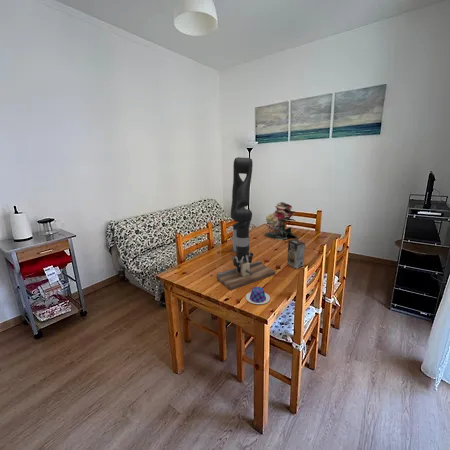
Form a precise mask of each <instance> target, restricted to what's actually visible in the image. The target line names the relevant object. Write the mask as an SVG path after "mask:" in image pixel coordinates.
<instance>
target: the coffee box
mask: <svg viewBox="0 0 450 450" xmlns="http://www.w3.org/2000/svg"><path fill="white" fill-rule="evenodd" d="M287 240H288V241H287V243H288V244H287V245H288V246H287V262H286V263H287V264H288V265H290V266H291V267H292V268H294V269H295V268H296V269H300V268H299V267H301V266H303V267H304V264H305V263H304V262H305V252H306V251H305V248H306V243H305V242H304V241H301V240H299V239H295V238H294V239H287ZM301 268H302V267H301Z"/></svg>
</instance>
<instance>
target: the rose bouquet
mask: <svg viewBox="0 0 450 450" xmlns="http://www.w3.org/2000/svg"><path fill="white" fill-rule="evenodd" d="M275 209H276V210H274V212H273V213H269V214H268V215H267V216H266V218H265V222H266V223H265V224H266V225H265V226H266V227H267V229H268V231H267V232H265V233H264V236H265V237H268V238H271V239H273V240H279V241H284V240H291V239H290V238H289V237H287V236H292V237H294V239H297V240H299V239H300V238H299V237H298V236H297V235H295V234H293V231H292V228H293V227H292V226H291V227H287V228H286V224H285V223H288V222H290V221H292V222H296V220H295V219H293V215H294V214H296V211H293V210H292V209H293V206H292V205H291V204H288V203H286V202H283V201H281V202H278V203H277V204H276V205H275ZM271 230H273V232H271ZM276 231H277V232H276Z"/></svg>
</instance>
